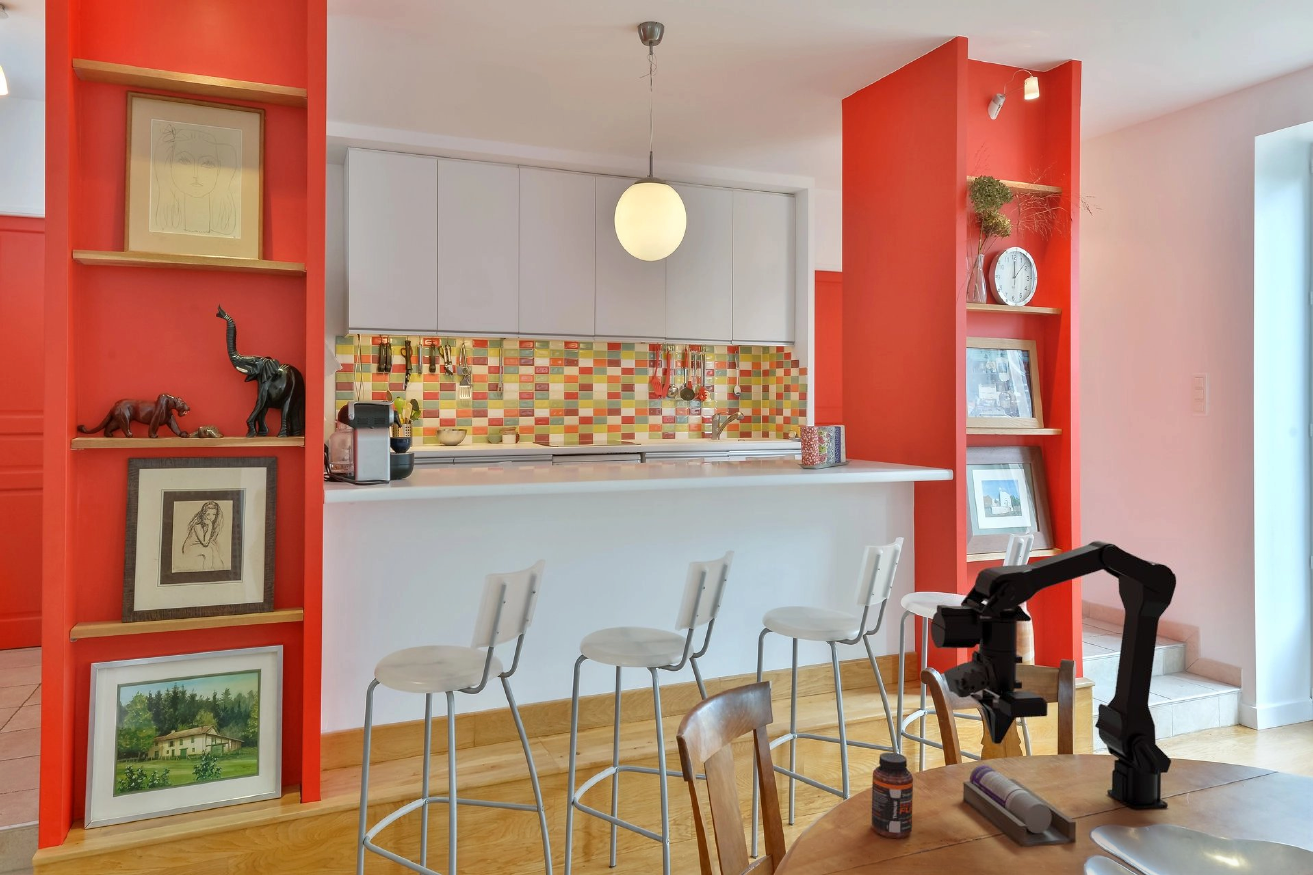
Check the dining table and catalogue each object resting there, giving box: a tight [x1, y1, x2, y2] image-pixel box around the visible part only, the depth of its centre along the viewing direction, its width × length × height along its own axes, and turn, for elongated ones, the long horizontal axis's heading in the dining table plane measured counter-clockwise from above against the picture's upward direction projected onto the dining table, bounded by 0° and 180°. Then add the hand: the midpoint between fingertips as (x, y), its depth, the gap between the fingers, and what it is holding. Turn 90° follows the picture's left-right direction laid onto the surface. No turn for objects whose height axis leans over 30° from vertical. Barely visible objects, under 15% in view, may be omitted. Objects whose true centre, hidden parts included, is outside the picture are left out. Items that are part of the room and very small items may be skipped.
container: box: [969, 764, 1052, 833], centre depth 137 cm, size 5×5×15 cm
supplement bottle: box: [871, 752, 914, 839], centre depth 131 cm, size 6×6×11 cm
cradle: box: [962, 778, 1077, 847], centre depth 136 cm, size 9×16×3 cm, turn 10°
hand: (996, 742), depth 141 cm, fingers closed
